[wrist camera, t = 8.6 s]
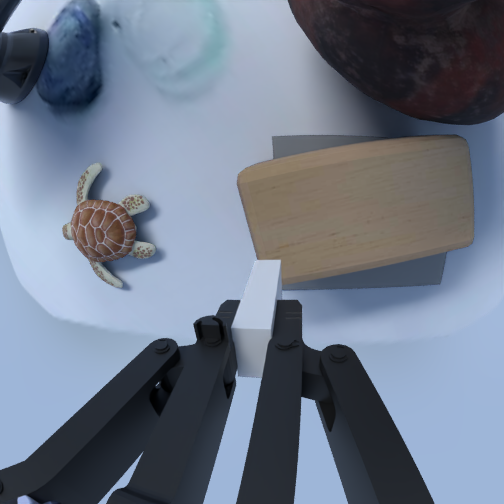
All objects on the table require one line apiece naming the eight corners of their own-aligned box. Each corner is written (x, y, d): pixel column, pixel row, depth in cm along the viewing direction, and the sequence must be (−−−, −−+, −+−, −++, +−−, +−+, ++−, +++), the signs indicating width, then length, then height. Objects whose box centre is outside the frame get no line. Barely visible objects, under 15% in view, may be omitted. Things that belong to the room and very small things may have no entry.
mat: (272, 136, 27) (272, 136, 27) (453, 145, 24) (454, 146, 23) (279, 288, 34) (279, 289, 33) (439, 283, 30) (440, 284, 30)
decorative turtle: (63, 171, 33) (40, 176, 28) (149, 153, 30) (127, 155, 26) (84, 279, 39) (66, 293, 35) (167, 286, 37) (152, 305, 32)
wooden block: (273, 249, 32) (432, 218, 27) (263, 293, 22) (477, 248, 18) (251, 164, 28) (422, 135, 24) (230, 172, 19) (470, 134, 15)
